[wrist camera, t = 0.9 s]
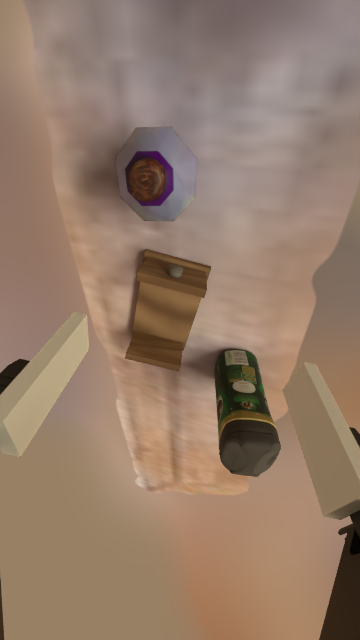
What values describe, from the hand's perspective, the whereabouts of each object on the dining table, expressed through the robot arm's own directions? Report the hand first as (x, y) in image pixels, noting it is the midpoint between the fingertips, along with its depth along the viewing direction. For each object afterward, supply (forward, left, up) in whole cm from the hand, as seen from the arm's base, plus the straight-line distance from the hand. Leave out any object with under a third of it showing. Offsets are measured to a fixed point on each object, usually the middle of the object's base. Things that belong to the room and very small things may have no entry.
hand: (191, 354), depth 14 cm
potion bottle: (-7, -6, -23) cm, 25 cm away
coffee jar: (+21, +14, -23) cm, 34 cm away
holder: (+11, -2, -23) cm, 26 cm away
